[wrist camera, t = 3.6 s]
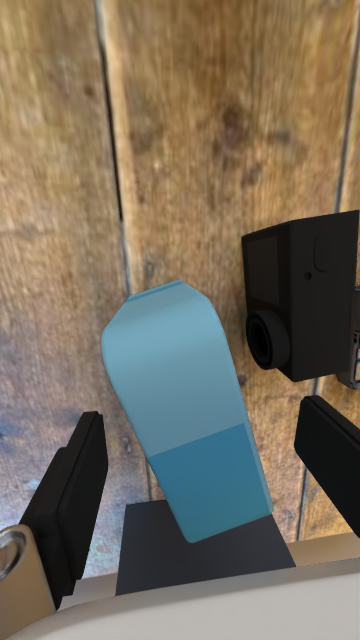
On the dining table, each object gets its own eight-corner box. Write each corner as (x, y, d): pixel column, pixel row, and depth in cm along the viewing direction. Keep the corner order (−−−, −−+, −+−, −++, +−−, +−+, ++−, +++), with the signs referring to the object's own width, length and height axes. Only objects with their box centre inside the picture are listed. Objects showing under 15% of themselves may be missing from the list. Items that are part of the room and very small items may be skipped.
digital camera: (227, 236, 18) (269, 221, 12) (287, 226, 19) (362, 206, 12) (237, 348, 21) (276, 387, 14) (290, 337, 22) (351, 371, 15)
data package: (129, 293, 19) (89, 343, 7) (178, 277, 19) (217, 299, 7) (173, 405, 22) (193, 561, 10) (215, 390, 22) (280, 529, 11)
